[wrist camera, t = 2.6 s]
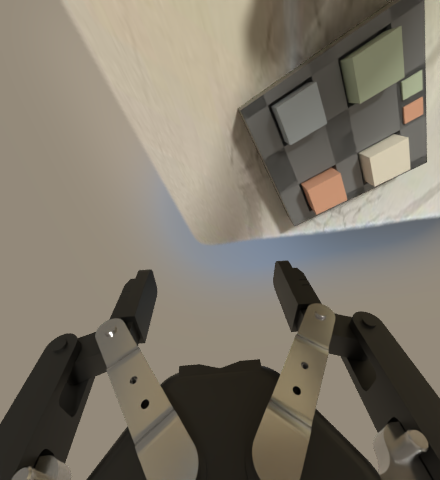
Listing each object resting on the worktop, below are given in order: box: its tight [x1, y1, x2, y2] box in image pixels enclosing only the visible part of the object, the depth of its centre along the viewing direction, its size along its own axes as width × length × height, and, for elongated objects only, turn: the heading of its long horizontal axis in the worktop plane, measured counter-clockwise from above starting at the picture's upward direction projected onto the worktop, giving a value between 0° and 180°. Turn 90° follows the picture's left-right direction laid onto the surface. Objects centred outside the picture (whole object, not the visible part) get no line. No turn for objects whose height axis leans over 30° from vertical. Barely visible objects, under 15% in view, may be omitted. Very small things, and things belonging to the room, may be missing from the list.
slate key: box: [271, 82, 327, 145], centre depth 24 cm, size 4×4×2 cm
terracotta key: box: [301, 167, 347, 215], centre depth 30 cm, size 4×4×2 cm
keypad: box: [238, 0, 427, 226], centre depth 28 cm, size 19×19×3 cm
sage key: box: [340, 26, 405, 104], centre depth 22 cm, size 4×4×2 cm
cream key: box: [358, 134, 410, 187], centre depth 28 cm, size 4×4×2 cm
